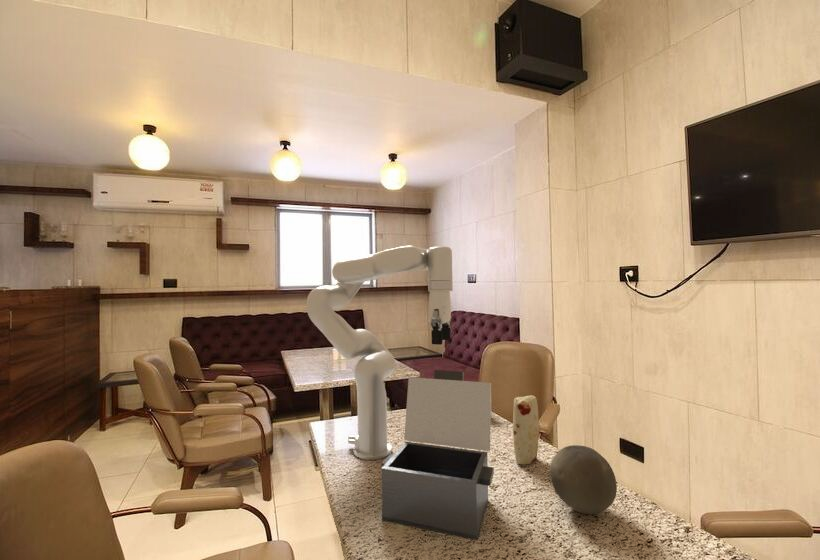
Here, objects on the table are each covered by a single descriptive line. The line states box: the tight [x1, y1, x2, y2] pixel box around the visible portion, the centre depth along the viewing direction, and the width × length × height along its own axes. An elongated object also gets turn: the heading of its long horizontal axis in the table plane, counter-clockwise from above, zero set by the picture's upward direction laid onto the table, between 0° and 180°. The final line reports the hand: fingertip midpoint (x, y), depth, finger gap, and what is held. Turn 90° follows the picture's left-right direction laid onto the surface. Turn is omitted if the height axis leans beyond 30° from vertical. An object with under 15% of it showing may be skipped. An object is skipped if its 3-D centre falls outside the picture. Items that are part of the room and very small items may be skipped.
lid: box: [403, 369, 492, 452], centre depth 103 cm, size 23×19×1 cm
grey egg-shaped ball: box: [549, 444, 618, 515], centre depth 90 cm, size 14×14×15 cm
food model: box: [512, 394, 540, 465], centre depth 117 cm, size 10×7×20 cm
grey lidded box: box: [380, 441, 495, 541], centre depth 92 cm, size 26×16×12 cm, turn 70°
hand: (441, 341), depth 118 cm, fingers open, 9 cm apart
